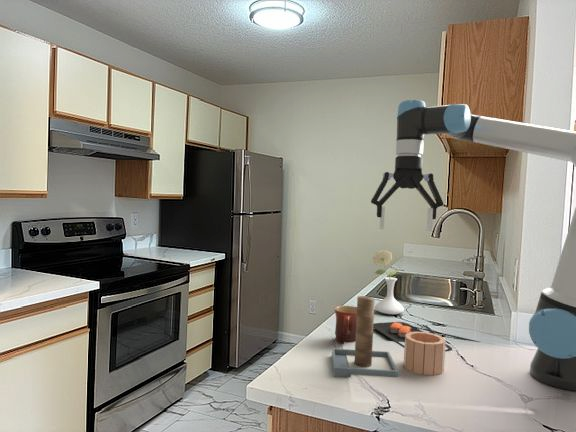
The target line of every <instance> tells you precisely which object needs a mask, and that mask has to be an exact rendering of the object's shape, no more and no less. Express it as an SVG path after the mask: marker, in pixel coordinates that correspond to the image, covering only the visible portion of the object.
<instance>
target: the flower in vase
mask: <svg viewBox="0 0 576 432" xmlns="http://www.w3.org/2000/svg"><path fill="white" fill-rule="evenodd" d="M372 260H373V264H375V265H378V266H380V267H383V266H384V269H381V268H380V269H377V270H376V271H375V272H374V274H376V275H380V276H382V275H384V274H386V275H387V276H386V277H384V280H385V282H386V286H387V292H386V296H385V298H383V299H382V300H380V301H378V303H376V305H374V310H376V311H377V312H379V313H381V314H385V315H386V314H387V315H399V314H402V313H404V311H405V308H404V306H403V305H402V304H401V303H400V302H399V301H398V300H396V298H395V297H394V289H395V288H394V287H395V284H396V282H397V281H398V278H397V277H393V275H395V274H396V273H397V272H398V269H395V270H391V271H389V272H387V270H386V266H387V265H389V264H390V263H391V262H392V261H393V254H392V252H391V251H389V250H386V249H384V250H382V249H381V250H380V251H377V252H376V253H375V254H374V256H373V258H372ZM390 276H392V277H390Z"/></svg>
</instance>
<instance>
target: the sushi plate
mask: <svg viewBox="0 0 576 432" xmlns="http://www.w3.org/2000/svg"><path fill="white" fill-rule="evenodd" d="M424 326H425V327H426V328H427V329H426V328H424V327H423V328H422V327H418V326H414V325H412V324H409V323H407V322H404V321H403V322H402V321H391V322H390V321H389V322H376V323H373V330H375V331H377V332H379V333H380V334H382V335H383V336H385V337H387V338H388V339H390V340H391V341H393V342H394V343H396V344H398V345H400V347H403V348H404V347H405V344H402V343H405V335H406V334H407V333H409V332H424V331H425V332H426V331H427V332H429V333H432V334H437V335H442V336H443V335H444V336H446V337H452V338H455V339H459V340H463V341H470V342H475V343H476V342H477V343H480V341H478V340H473V339H469V338H466V337H462V336H456V335H453V334H448V333H444V332H439V331H435V330H432V329H431V328H430V327H429V326H428V325H426V324H425V325H424ZM445 348H446V349H445V352H450V351H453V347H451V345H449V344H447V343H445Z"/></svg>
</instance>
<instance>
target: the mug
mask: <svg viewBox="0 0 576 432" xmlns="http://www.w3.org/2000/svg"><path fill="white" fill-rule="evenodd" d="M333 310H334V313H335V319H336V320H335V331H334V334H335V340H336V341H337V342H338V343H340V344H343V345H345V343H353V342H355V341H356V320H357V306H353V305H338V306H335V307H334V308H333Z"/></svg>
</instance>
